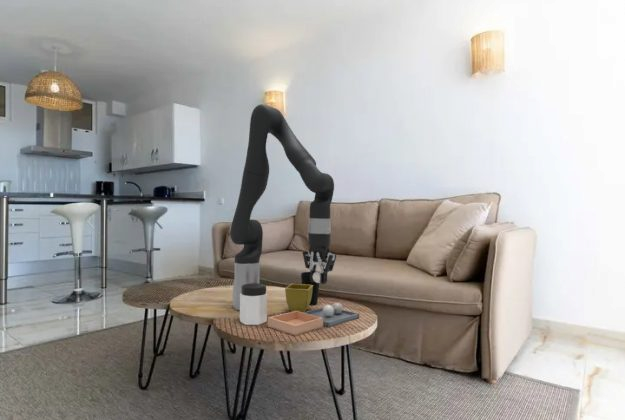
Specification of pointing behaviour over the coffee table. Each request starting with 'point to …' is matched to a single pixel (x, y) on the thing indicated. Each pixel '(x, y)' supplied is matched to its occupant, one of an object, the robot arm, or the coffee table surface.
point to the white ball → (317, 276)
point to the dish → (295, 323)
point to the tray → (334, 317)
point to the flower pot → (298, 296)
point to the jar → (253, 304)
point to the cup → (306, 280)
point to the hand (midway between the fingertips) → (318, 282)
